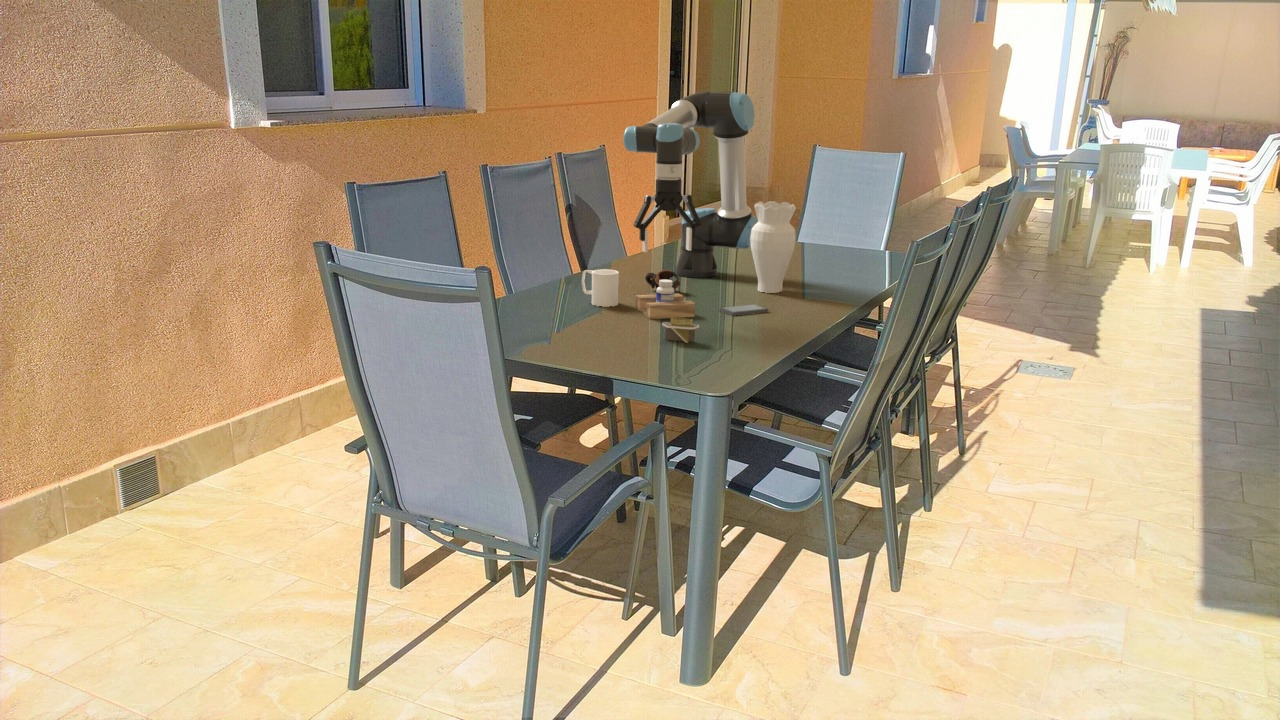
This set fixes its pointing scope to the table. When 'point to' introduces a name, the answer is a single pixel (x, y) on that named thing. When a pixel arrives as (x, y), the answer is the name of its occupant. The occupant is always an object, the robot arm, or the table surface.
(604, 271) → the cup
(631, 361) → the table surface
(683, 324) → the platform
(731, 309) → the phone slab
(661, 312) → the socket holder
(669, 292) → the pill bottle
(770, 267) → the vase
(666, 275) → the pottery mug
